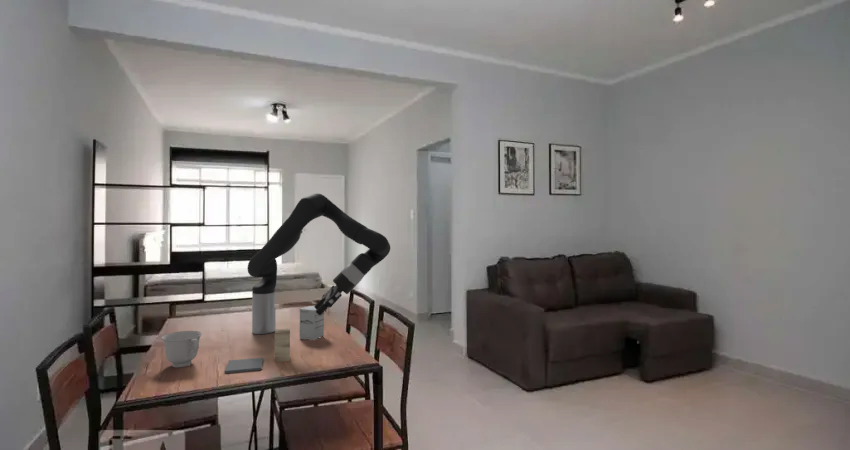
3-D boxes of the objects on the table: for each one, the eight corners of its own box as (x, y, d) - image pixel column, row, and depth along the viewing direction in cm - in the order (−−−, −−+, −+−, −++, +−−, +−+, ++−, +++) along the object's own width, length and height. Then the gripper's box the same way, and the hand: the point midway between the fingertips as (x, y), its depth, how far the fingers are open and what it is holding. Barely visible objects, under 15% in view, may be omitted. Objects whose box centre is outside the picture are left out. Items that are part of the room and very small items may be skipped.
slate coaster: (228, 362, 151) (228, 360, 151) (263, 359, 154) (263, 357, 154) (224, 373, 140) (224, 370, 140) (261, 370, 144) (261, 367, 144)
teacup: (178, 375, 139) (178, 343, 139) (153, 366, 146) (153, 336, 146) (214, 364, 149) (214, 335, 149) (189, 357, 157) (189, 328, 157)
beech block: (275, 357, 157) (275, 329, 157) (289, 356, 158) (289, 328, 158) (274, 361, 152) (274, 333, 152) (289, 360, 154) (289, 332, 153)
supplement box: (298, 339, 181) (298, 308, 181) (309, 335, 188) (310, 305, 188) (313, 341, 178) (313, 310, 178) (324, 336, 185) (324, 306, 185)
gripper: (339, 269, 168) (308, 301, 164) (344, 273, 154) (310, 308, 151) (353, 282, 169) (322, 314, 166) (359, 287, 156) (326, 322, 152)
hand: (316, 311), depth 158 cm, fingers open, 8 cm apart
